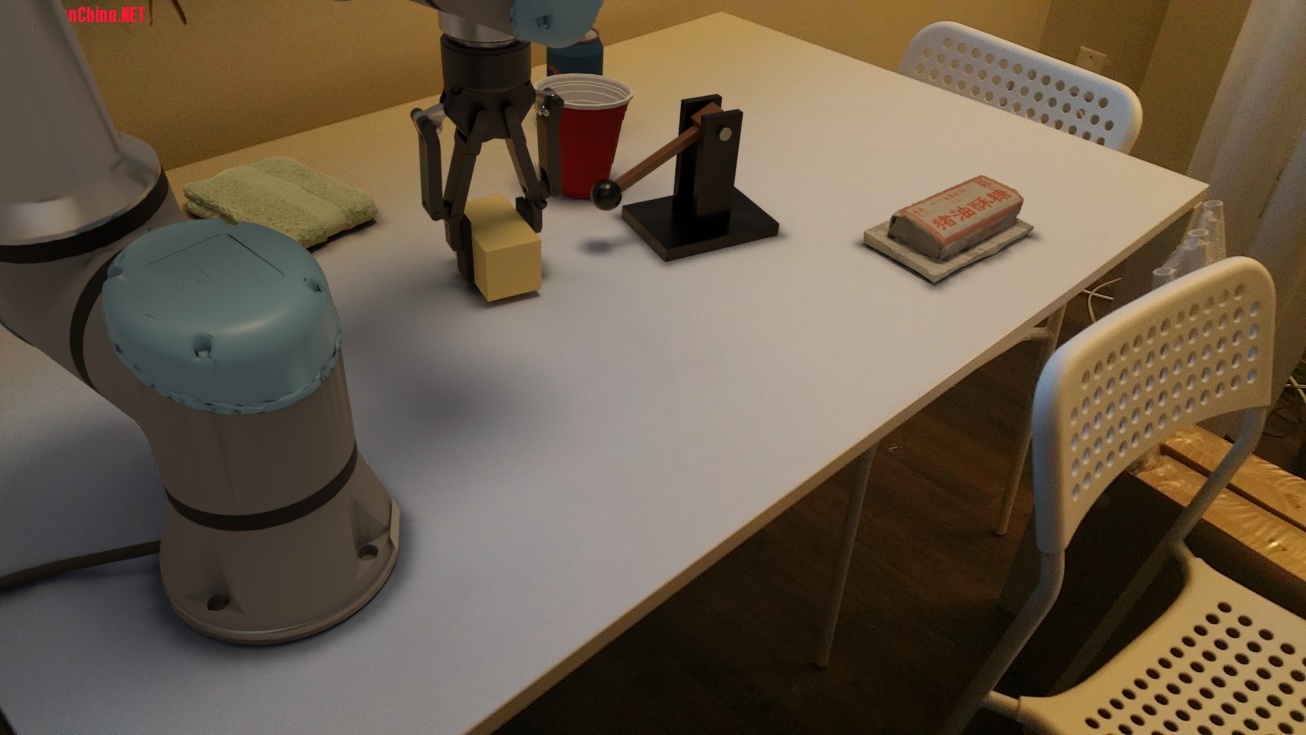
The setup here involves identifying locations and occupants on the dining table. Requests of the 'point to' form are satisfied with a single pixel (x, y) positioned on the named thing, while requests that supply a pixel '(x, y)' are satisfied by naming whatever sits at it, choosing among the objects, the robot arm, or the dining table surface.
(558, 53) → the soda can
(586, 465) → the dining table surface
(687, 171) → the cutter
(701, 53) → the dining table surface
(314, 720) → the dining table surface
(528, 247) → the butter
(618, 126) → the plastic cup
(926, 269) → the packaged product
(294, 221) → the washcloth
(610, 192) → the arm
